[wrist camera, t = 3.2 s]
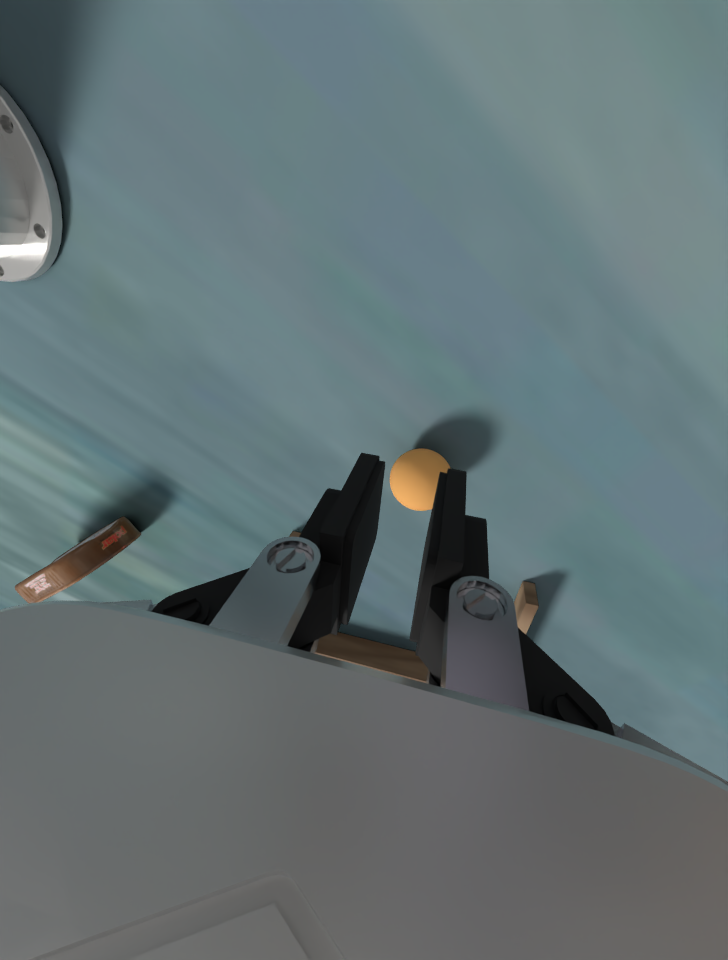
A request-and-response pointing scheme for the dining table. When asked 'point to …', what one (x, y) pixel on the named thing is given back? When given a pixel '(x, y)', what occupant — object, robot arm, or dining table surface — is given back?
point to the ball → (417, 478)
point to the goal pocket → (402, 659)
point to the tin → (78, 561)
